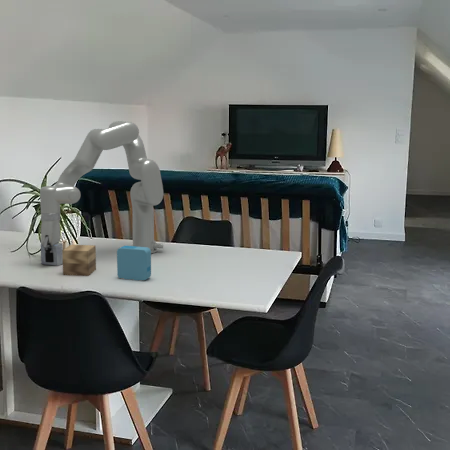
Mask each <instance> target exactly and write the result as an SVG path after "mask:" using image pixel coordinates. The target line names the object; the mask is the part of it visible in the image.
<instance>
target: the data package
mask: <svg viewBox="0 0 450 450" xmlns="http://www.w3.org/2000/svg"><path fill="white" fill-rule="evenodd" d="M116 268H117V271H116V272H117V273H116V274H117V275H116V276H117V277H118V278H119V279H120V278H124V279H123V280H129V279H134V280H133V281H139V280H145V281H147V279H148V280H149V278H151V276H152V253H151V250H150V249H149V248H148V247H137V246H133V245H123V246H121V247H119V248H117V251H116Z"/></svg>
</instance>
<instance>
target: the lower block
mask: <svg viewBox="0 0 450 450" xmlns="http://www.w3.org/2000/svg"><path fill="white" fill-rule="evenodd" d="M96 270H97V259H96V258H95V259H94V260H93V261H91V262H90V263H89V264H76V263H63V264H62V275H63V276H74V277H75V276H78V277H79V276H82V277H89V276H91V275H92V274H93V273H94V272H95V271H96Z"/></svg>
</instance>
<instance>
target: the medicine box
mask: <svg viewBox="0 0 450 450" xmlns="http://www.w3.org/2000/svg"><path fill="white" fill-rule="evenodd" d="M48 245H50V244H48ZM63 246H64V245H63V243H62V242H59V243H56V244H54V245H53V250H52V252H53V258H54V262H46V261H45V249H44V247H43V245H41V244H40V264H41V265H46V266H47V265H48V266H49V265H50V266H60V265H63V256H62V250H64V249H63V248H64V247H63ZM49 248H50V247H49Z"/></svg>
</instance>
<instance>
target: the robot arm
mask: <svg viewBox="0 0 450 450" xmlns="http://www.w3.org/2000/svg"><path fill="white" fill-rule="evenodd" d="M139 134H140V130H139V127H138V125H137V124H136V123H134V122H132V121H123V120H121V121H120V120H116V121H113V122H111V123H110V124H109V125H108V128H93V129H91V130H90V131H89V132H88V133H87V134H86V136H85V138H84V140H83V142H82V144H81V146H80V147H79V150H78V151H77V153H76V156H74V159H73V160H71V162H70V163H69V164H68V165H67V166H66V167H65V169H64V170H63V171H62V173H61V174H60V175H59V177H58V180H57V181H56V183H55V185H47V186H42V187H41V188H40V190H39V199H40V200H39V201H40V221H41V226H40V227H41V228H40V246H41V245H43V247H44V249H45V261H46V262H54V258H53V252H52V250H53V245H54V244H56V243H60V241H61V227H60V226H61V225H60V221H61V204H66V205H73V204H76V203H78V202H79V201H80V199H81V191H80V189H79V188H77V186H75V185H76V184H77V182H78V180H80V179H81V178H82V176H84V175H85V174H87V173H90V172H91V171H93V170H94V168H95V166H96V164H97V163H98V161H99V159H100V156H101V154H102V153H103V151H109V150H113V149H116V148H119V147H123V149H124V151H125V155H126V161H127V167H128V171H129V175H130V176H131V177H132V178H133V179H134V180H138V182H135V183H134V184H132V187H131V188H130V193H129V194H130V201H131V206H132V207H131V209H132V246H137V247H148V248H149V249H150V250H151V254H155V253H157V252H158V249H164V244H163V243H157V241H156V240H155V211H154V206H157V205H159V204H160V203H161V202H162V200H163V199H164V185H163V180H162V175H161V169H160V168H159V165H158V163H157V162H156V161H154V160H153V159H150V158H148V157H147V153H146V149H145V144H144V141H143V140H142V137H141V136H140V135H139ZM48 244H50V245H48ZM49 247H50V248H49Z"/></svg>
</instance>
